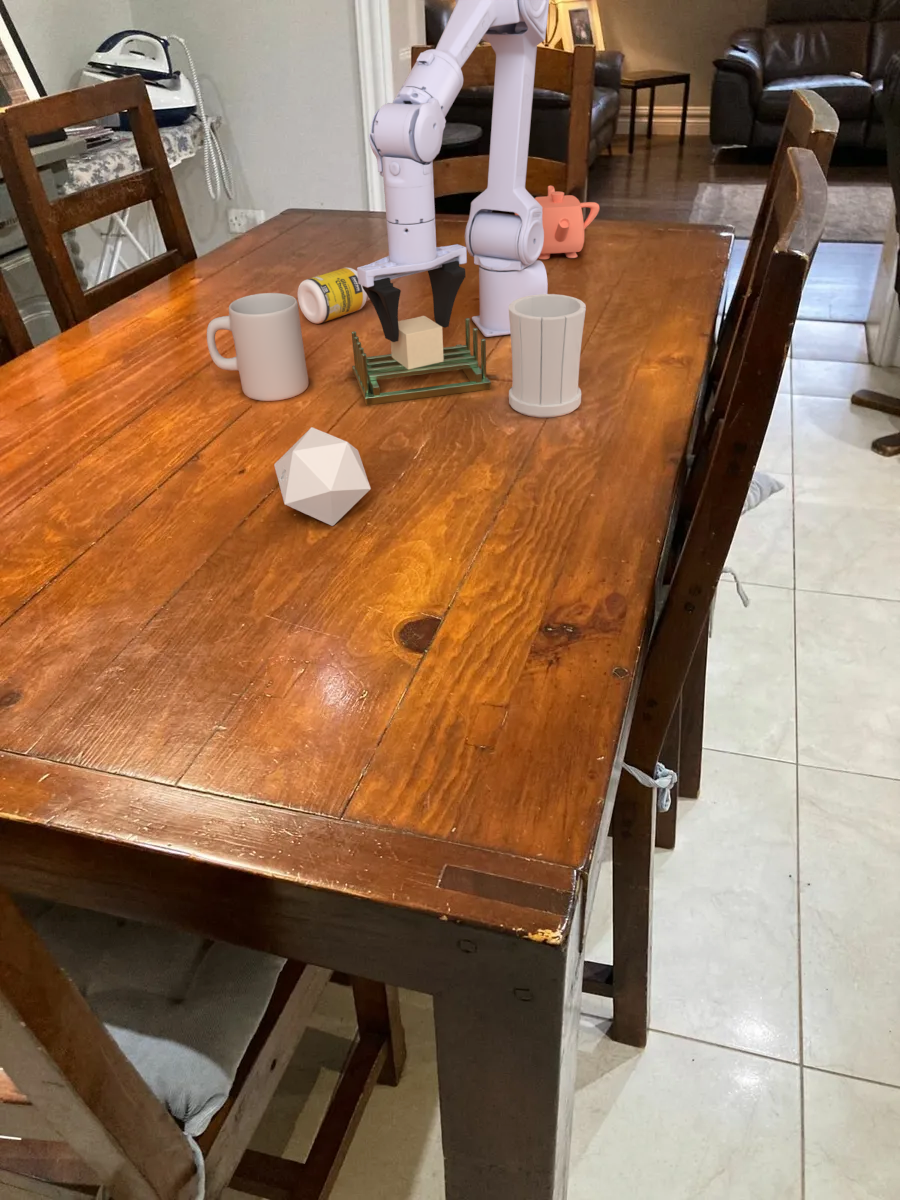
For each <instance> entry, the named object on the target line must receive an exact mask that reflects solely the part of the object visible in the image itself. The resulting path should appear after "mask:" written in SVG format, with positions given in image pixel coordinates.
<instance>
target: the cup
mask: <svg viewBox="0 0 900 1200" xmlns="http://www.w3.org/2000/svg"><path fill="white" fill-rule="evenodd" d="M586 311H587V307H586V303H585V302H584V301H582V300H581V299H579V298H576V297H573V296H569V295H565V294H556V293H547V294H539V295H530V296H526V297H522V298H519V299H517V300H515V301H513V302H512V303H511V304H510V305H509V320H510V332H511V334H510V346H511V369H512V370H511V373H512V375H511V378H512V379H511V380H512V386H511V387H510V389H509V390H508V405H509V406H510V407H511V408H512V409H513V410H514V411H516V412H517V413H519V414H521V415H524V416H527V417H533V418H541V419H542V418H543V419H544V418H547V419H548V418H549V419H550V418H557V417H562V416H565V415H569V414H571V413H573V412H574V411H575V410H577V409H578V408H579V407H580V405H581V403H582V389H581V388H580V387H579V377H580V365H581V364H580V363H581V352H582V342H583V335H584V325H585V319H586Z"/></svg>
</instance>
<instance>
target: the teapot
mask: <svg viewBox="0 0 900 1200" xmlns="http://www.w3.org/2000/svg"><path fill="white" fill-rule="evenodd" d="M534 199H535V200H536V201H537V202H538V203H539V204H540V205H541V206H542V223H543V229H544V243H543V248H542V251H541V253H540V255H539V257H538V258H537V260H548V259H550V258H551V254H565V257H566V258H568V259H575V258H578V253H579V252H581V251H582V249H583V247H584V244H585V230H586V229H587V228H588V227H589V226H590V224H591V223H592V222H593V221H594V220H595V218H597V216H598V215H599V212H600V204H599V203H597V202H594V201H586V202H581V201H580V200H579V198H577V197H576V196H575V195H571V194H566V195H565V192H563V191H556V190H555V187H554V186H553V185H548V186H547V196H536V197H534ZM584 208H585V209H586V208H587V209H590V210H589V211H590V212H589V214H588V215H587V217H586V219H585V221H584V214H583V209H584ZM514 215H518V214H517V213H514Z"/></svg>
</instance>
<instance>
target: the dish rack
mask: <svg viewBox="0 0 900 1200" xmlns="http://www.w3.org/2000/svg"><path fill="white" fill-rule="evenodd" d="M464 327H465V331H464V332H465V334H464V335H465V344H461V343H460V344H455V345H454V346H453V345H452V346H445V347H443V358H444V362H439V363H435V364H431V365H426V366H422V367H418V368H414V369H409V370H408V369H407V368H406V367H404V366H403V365H402V364H400V363H399V362H398V361H396V360H395V359H394V358H392V353H388V354H379V355H371V356H367V353H365V349H364V347H362V341H360V338H359V336H357V331H354V330H353V331H351V342H352V352H353V361H354V365H351V368H352V369H351V370H352V374H353V376H354V378H355V380H356V382H357V385H358V387H359V390H360V392H361V394H362V396H363V397H362V398H363V399H364V404H365V406H371V405H373V406H374V405H380V404H387V403H394V402H395V403H396V402H402V401H409V400H416V399H417V400H418V399H426V398H433V397H441V396H450V395H455V394H463V393H464V394H465V393H471V392H479V391H480V392H481V391H487V390H491V389H492V381H491V380H490V379H489V378H488V377H487V342H486V341H487V339H485V338H482V339H480V361H481V362H480V364H481V367H480V366H479V338H478V336H479V335H478V330H479V328H478V327H473V328H472V351H473V352H472V354H473V355H472V354H471V319H470V318H469V317H466V318H465V319H464ZM458 370H462V371H463V373H464V374H465V376H466V377H467V379H468V380H469V381H463V382H456V383H448V384H440V385H432V386H424V387H417V388H408V389H400V390H392V391H384V392H381V389H380V385H379V383H378V381H379V380H387V379H395V378H403V377H404V378H405V377H411V376H418V375H427V374H434V373H442V372H443V373H444V372H450V371H451V372H452V371H458Z"/></svg>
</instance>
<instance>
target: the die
mask: <svg viewBox="0 0 900 1200" xmlns="http://www.w3.org/2000/svg"><path fill="white" fill-rule="evenodd" d="M273 466H274V469H275V474H276V477H277V481H278V483H279V484H278V485H279V490H280V492H281V496H282V500H283V503H284V505H285V506H286V507H290V508H292V509H294V510H296V511H297V512H301V513H303V514H304V515H307V516H309V517H311V518H314V519H316V520H318V521H320V522H323V523H325V524H327V525H329V526H332V527H333V526H335V525H336V524H337V523H338V522H339V521H340V520H341V519H342V518H343V517H344V516H345V515H346V514H347V513H348V512H349V511H350V510H351V509H352V508H354V506H355V505H356V504H357V503H359V501H360V500H361V499H362V498H363V497H364V496H365V495H366V494H367V493H369V491H370V490H372V488H371V485H370V482H369V480H368V476H367V473H366V470H365V467H364V465H363V460H362V458H361V456H360V451H359V450H358V449H357V448H356V447H355V446H353V445H352V444H351V443H350V442H349V441H346V440H345V439H342V438H339V437H337V436H335V435H332V434H330V433H327V432H325V431H323V430H320V429H317V428H315V427H312V426H311V427H310V428H309V429H308V430H307V431H306V432H305V433H304V434H303V435H302V436H301V437H300V438H299V439H298V440H297V441H296V442H295V443H294V444H293V445H292V446H291V447H290V448H289V449H288V450H286V452H285V453H284V454H283V455H282V456H281V457H279V459H278V460H277V461H276V462H275V463H274V464H273Z"/></svg>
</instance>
